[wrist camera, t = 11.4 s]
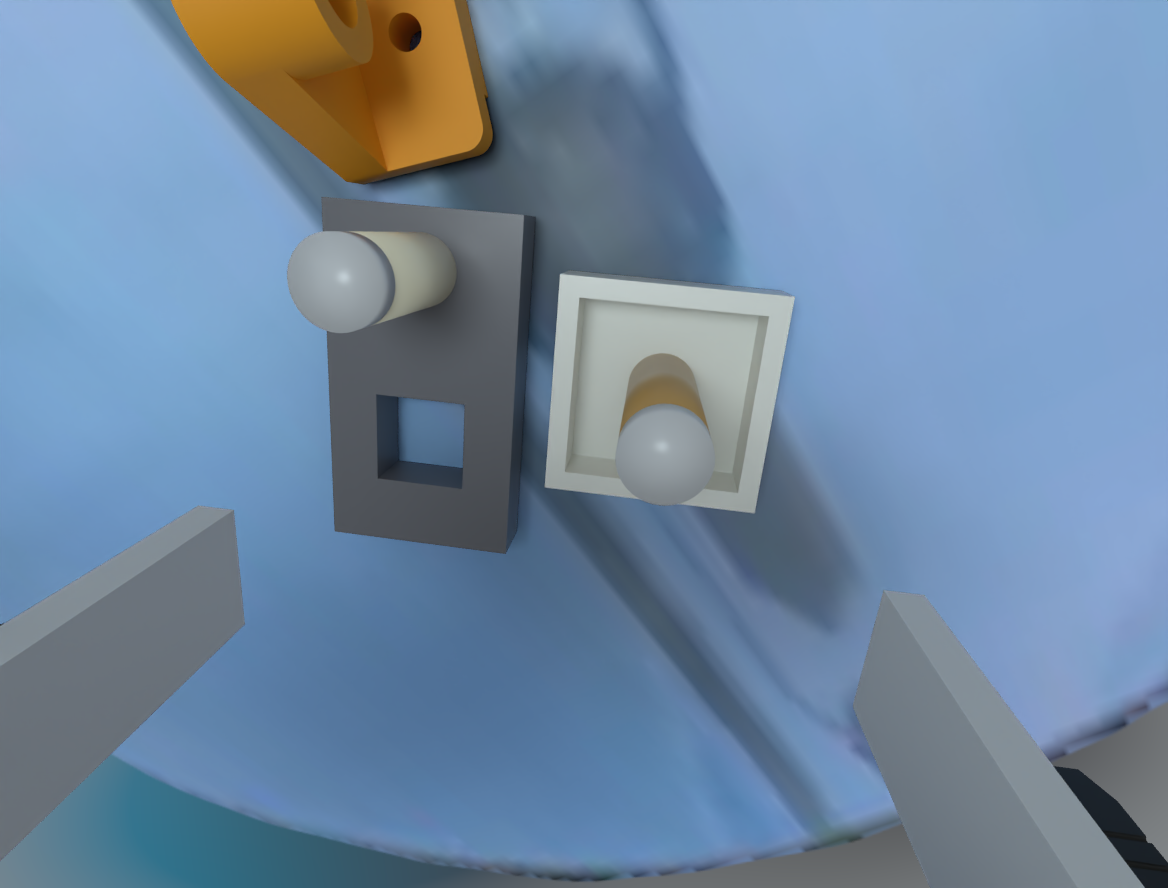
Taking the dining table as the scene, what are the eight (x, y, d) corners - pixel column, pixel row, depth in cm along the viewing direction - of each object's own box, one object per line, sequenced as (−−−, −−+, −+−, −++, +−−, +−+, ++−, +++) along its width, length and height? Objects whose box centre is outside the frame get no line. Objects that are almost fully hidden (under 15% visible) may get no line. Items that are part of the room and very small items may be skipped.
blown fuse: (624, 414, 36) (610, 499, 24) (632, 349, 34) (621, 406, 23) (690, 422, 35) (707, 511, 24) (699, 357, 34) (722, 417, 23)
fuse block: (516, 530, 39) (458, 651, 28) (357, 510, 40) (238, 619, 29) (535, 216, 33) (471, 207, 22) (349, 199, 34) (195, 182, 23)
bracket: (500, 153, 33) (417, 110, 21) (370, 185, 34) (224, 161, 23) (445, -96, 30) (313, -299, 18) (303, -51, 31) (97, -215, 20)
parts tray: (554, 465, 38) (544, 487, 34) (569, 270, 34) (560, 274, 31) (746, 488, 37) (754, 513, 33) (781, 290, 33) (794, 296, 30)
